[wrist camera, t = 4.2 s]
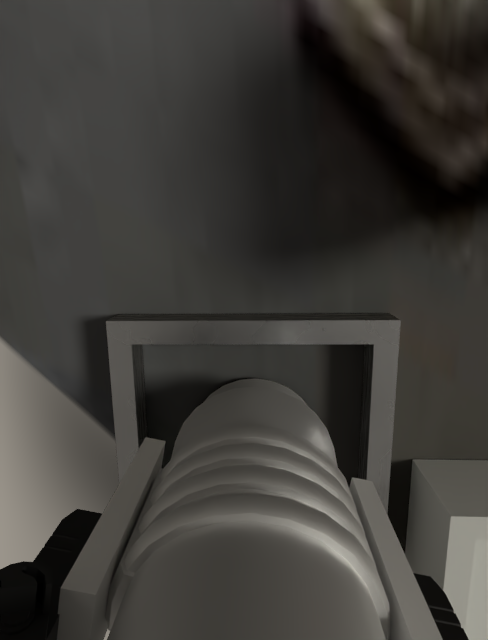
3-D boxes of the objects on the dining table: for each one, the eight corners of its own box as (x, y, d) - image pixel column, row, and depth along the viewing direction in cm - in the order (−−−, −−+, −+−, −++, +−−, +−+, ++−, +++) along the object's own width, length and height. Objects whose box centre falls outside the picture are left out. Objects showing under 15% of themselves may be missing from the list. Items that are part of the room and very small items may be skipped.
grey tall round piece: (201, 349, 18) (-34, 805, 4) (349, 393, 19) (681, 998, 4) (163, 480, 20) (-110, 1180, 5) (301, 520, 20) (412, 1309, 5)
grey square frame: (118, 314, 18) (106, 321, 17) (389, 313, 18) (400, 320, 17) (135, 545, 21) (126, 569, 19) (374, 550, 20) (383, 575, 19)
